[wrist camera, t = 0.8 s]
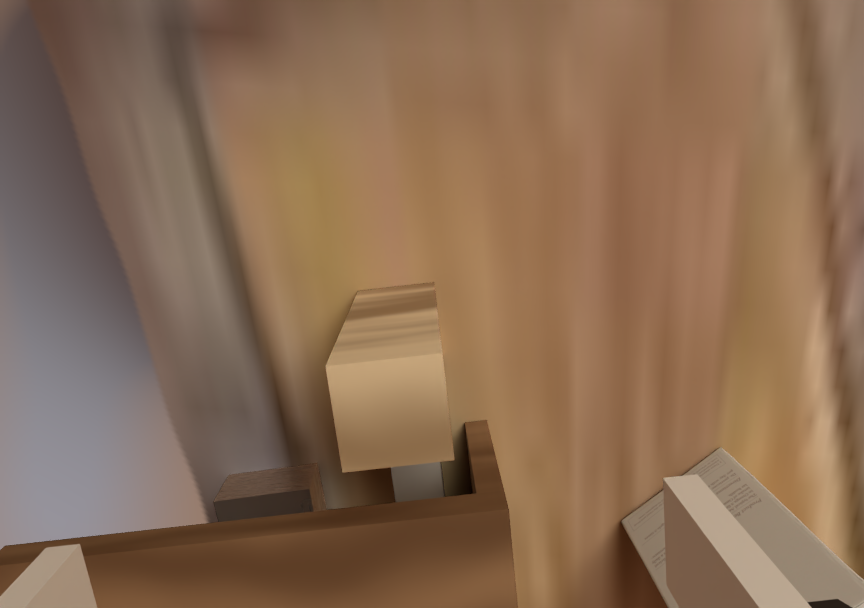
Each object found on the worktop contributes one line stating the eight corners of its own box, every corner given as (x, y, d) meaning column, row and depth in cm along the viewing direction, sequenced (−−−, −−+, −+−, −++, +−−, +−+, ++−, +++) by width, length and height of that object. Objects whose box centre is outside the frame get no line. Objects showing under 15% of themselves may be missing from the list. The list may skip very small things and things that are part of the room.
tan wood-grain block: (358, 290, 34) (325, 366, 22) (434, 282, 34) (442, 353, 22) (398, 574, 38) (388, 765, 26) (466, 566, 38) (487, 754, 26)
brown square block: (230, 473, 36) (213, 501, 33) (318, 461, 36) (309, 488, 33) (248, 550, 37) (233, 585, 34) (333, 539, 37) (326, 572, 34)
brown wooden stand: (89, 464, 36) (-18, 567, 27) (486, 420, 35) (508, 508, 27) (144, 675, 39) (64, 828, 30) (508, 636, 39) (533, 778, 30)
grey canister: (689, 602, 38) (816, 816, 26) (616, 518, 37) (714, 701, 25) (794, 531, 37) (977, 718, 25) (723, 441, 36) (880, 592, 24)
